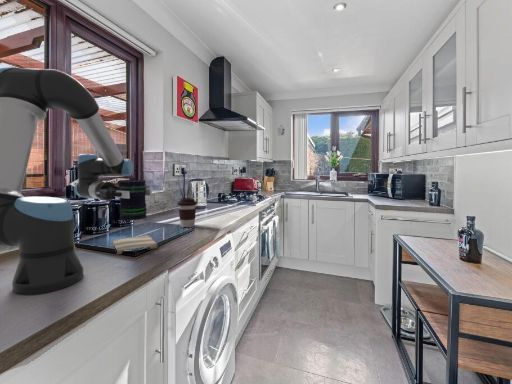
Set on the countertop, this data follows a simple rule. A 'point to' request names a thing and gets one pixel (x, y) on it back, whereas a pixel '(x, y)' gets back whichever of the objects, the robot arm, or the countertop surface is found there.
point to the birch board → (133, 243)
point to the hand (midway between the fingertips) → (140, 193)
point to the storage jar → (133, 200)
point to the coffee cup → (187, 212)
